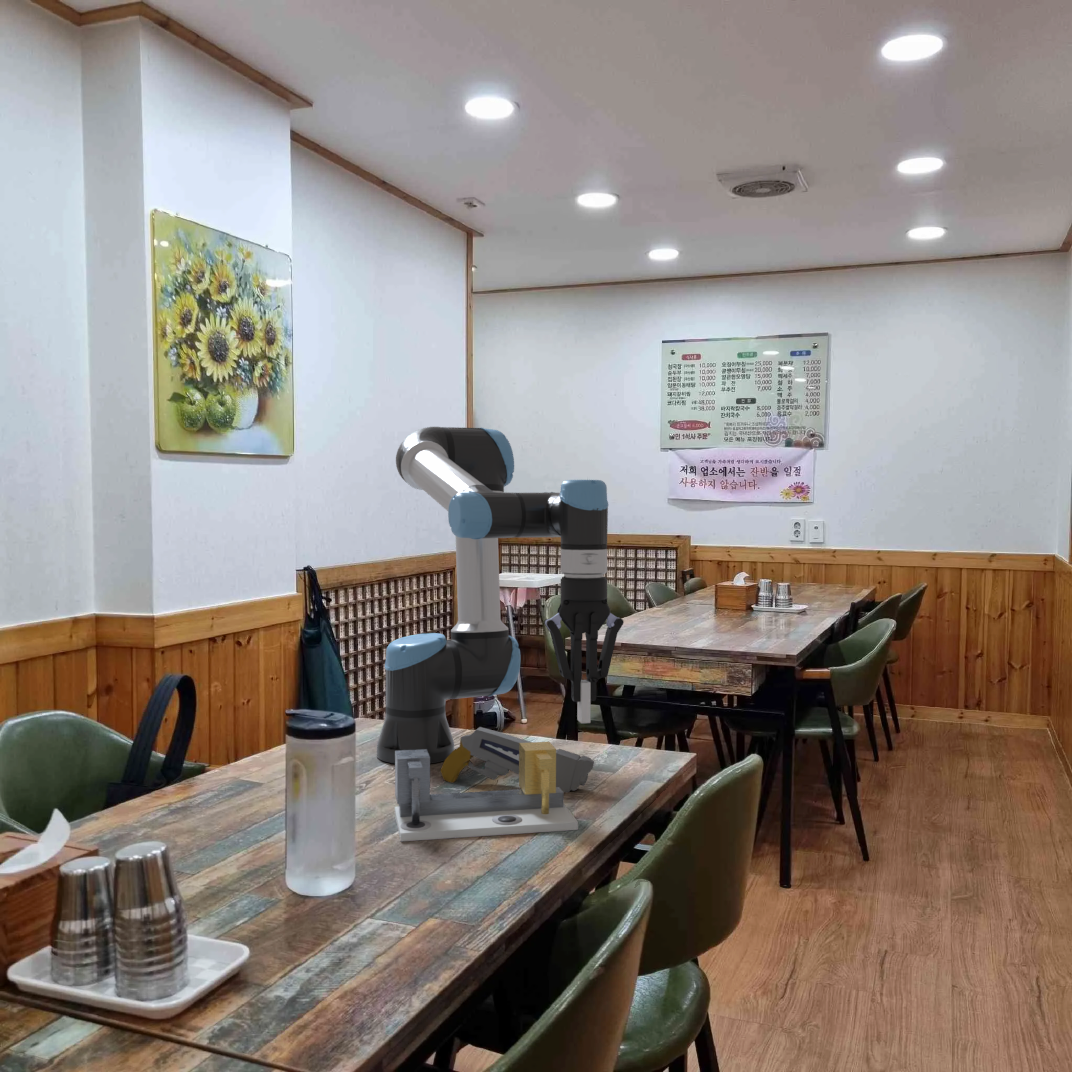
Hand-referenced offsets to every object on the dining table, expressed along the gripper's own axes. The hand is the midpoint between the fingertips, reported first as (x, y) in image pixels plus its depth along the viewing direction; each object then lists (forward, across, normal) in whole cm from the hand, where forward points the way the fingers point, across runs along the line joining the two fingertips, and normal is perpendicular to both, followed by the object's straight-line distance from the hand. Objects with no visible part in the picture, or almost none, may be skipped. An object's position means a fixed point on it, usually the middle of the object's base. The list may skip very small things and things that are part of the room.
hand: (583, 721), depth 162 cm
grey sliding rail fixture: (+13, -17, -2) cm, 22 cm away
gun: (+15, -8, +16) cm, 24 cm away
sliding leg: (+13, -8, -2) cm, 15 cm away
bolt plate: (+15, -17, -2) cm, 22 cm away
